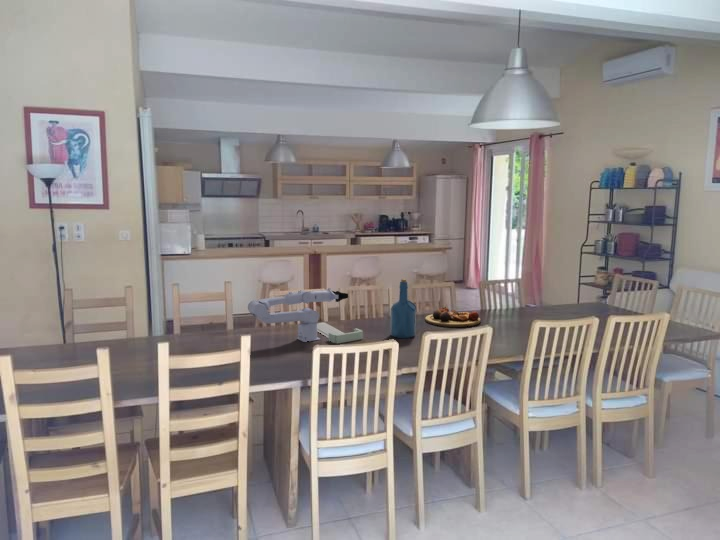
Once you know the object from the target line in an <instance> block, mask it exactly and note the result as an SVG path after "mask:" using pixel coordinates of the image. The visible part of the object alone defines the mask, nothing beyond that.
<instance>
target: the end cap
mask: <svg viewBox="0 0 720 540" xmlns="http://www.w3.org/2000/svg"><path fill="white" fill-rule="evenodd" d="M344 333H345V332H344ZM359 340H364V331H363V329H359V328H353V331H352V332H346V333H345V334H339V335H336V334H334V333H329V338H328V342H330V341H331V342H330V343H333V344H342V343H348V342H353V341H359Z"/></svg>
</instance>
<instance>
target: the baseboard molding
mask: <svg viewBox="0 0 720 540" xmlns="http://www.w3.org/2000/svg"><path fill="white" fill-rule="evenodd" d="M318 332H319V334H320V333H321V334H320V335H322V336H323V335H324V336H323V337H325V336H326V337H325V338H326V339H329V333H334V334H336V335H339V334H345V332H343V331H341V330H340V329H338V328H335V327H334V326H332V325H330V324H328V323H326V322H325V321H319V320H318V322H317V333H318Z"/></svg>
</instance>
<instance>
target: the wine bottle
mask: <svg viewBox="0 0 720 540" xmlns="http://www.w3.org/2000/svg"><path fill="white" fill-rule="evenodd" d="M398 288H399V297H398V298H399V299H398V301H397V302H394V303H393V304H392V305H391V307H390V331H389V333H390V335H391V336H392V337H394V338H396V337H397V339H410V337H411V338H413V336H414V337H415V335H416V328H417V327H416V321H417V320H416V318H417V316H416V315H417V306H416V305H415V303H413V302H412V301H411V300H409V299H408V288H409V286H408V281H407V279H406V278H401V281H400V282H399V286H398Z"/></svg>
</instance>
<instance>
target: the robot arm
mask: <svg viewBox="0 0 720 540" xmlns="http://www.w3.org/2000/svg"><path fill="white" fill-rule="evenodd" d="M331 289H332V288H331V287H327V290H311V291H310V290H308V291H307V290H302V289H301V290H298V291H296V292H292V291H288V293H286V294H285V295H284V296H278V297H277V296H276V297H269V298H268V297H267V298H259V299H257V300H254V299H253V300H251V301H250V302H249V303H248V305H247V310H248V312H249V313H250V314H251V316H253V317H255V318H256V319H258V320H259V321H260V322H262V323H265V324H266V325H267V324H277V323H278V324H279V323H292V322H301V323H299V324H298V326H297V337H296V338H297V340H299V341H301V342H303V343H308V342H307V341H309V342H313V341H319V340H321V338H320V337H318V332H317V323H318V322H319V319H320V314H319V312H318V311H316V310H313V309H312V308H310V307H304V308H303V309H299V310H295V311H281V312H269V310H270V308H271V307H272V306H277V305H281V304H286V305H287V306H292V305H298V304H301V303H304V304H310V303H321V302H329V303H330V302H332V301H335V303H339V302H340V301H342V300H346V299H349V293H346V292H340V291H339V290H336V291H333V290H331Z"/></svg>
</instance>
